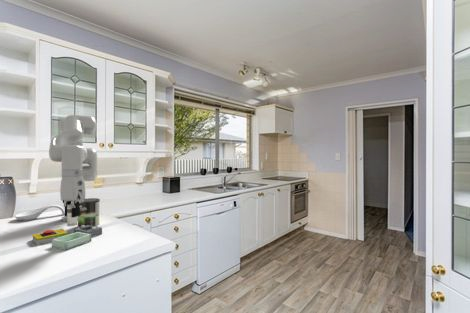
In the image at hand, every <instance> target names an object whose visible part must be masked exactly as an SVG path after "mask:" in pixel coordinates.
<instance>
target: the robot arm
mask: <svg viewBox="0 0 470 313" xmlns="http://www.w3.org/2000/svg"><path fill="white" fill-rule="evenodd" d="M58 123H59V124H58V125H59V129H60V133H58V134H57V135H54V136H53V138H51V140H50V143H49V150H48V156H49V157H48V158H49V159H50V160H51V161H52V162H55V163H56V162H57V163H58V162H59V163H60V162H61V180H60V190H59V191H60V192H59V193H60V194H59V195H60V200H61V202H62V203H63V207H64V212H65V215H63V216H62V217H61V220H62V221H64V222H65V221H66V222H67V204H72V206H73V208H72V217H77V221H78V216H80V206H81V204H82V203H83V202H84V199H86V184H85V182H92V181H95V180H97V178H98V153H97V150H96V149H94V148H92V147H85V146H84V142H83V141H84V139H83V138H84V136H93V135H95V134H96V130H97V121H96V119H95V118H94V117H93V116H90V115H78V114H70V115H67V116H66V117H65V118H64V119H60V120H59V122H58ZM84 164H86V165H84ZM75 203H76V204H75Z"/></svg>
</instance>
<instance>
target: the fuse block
mask: <svg viewBox="0 0 470 313" xmlns="http://www.w3.org/2000/svg"><path fill="white" fill-rule="evenodd" d="M76 232H81V233H86V234H91V238H94V237H96V236H100V235H102V234H103V227H101V226H90V225H87V226H85V225H82V226H81V227H80V228H78V227H77V228H74V229H73V233H76Z"/></svg>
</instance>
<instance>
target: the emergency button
mask: <svg viewBox="0 0 470 313" xmlns="http://www.w3.org/2000/svg"><path fill="white" fill-rule="evenodd" d="M69 234H70V233H68V232H67V231H66V230H65V229H64V228H58V229H55V230H53V229H49V230H48V229H47V230H45V231H42V232H39V233H38V232H37V233H33V235H32V239H30V240H28V243H29V245H30V246H31V247H37V246H41V245H46V244H50V243H52V239H56V238H59V237H62V236H66V235H69Z"/></svg>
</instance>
